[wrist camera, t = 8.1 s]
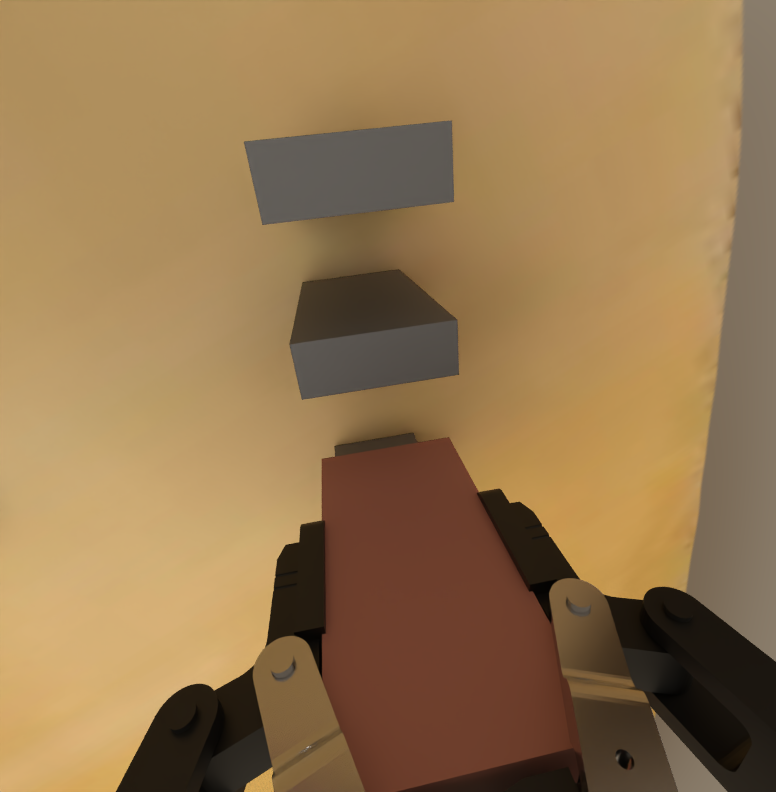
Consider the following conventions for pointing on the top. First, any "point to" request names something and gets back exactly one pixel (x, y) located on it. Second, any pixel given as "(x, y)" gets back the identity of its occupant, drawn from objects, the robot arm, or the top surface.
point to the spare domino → (432, 631)
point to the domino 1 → (352, 171)
